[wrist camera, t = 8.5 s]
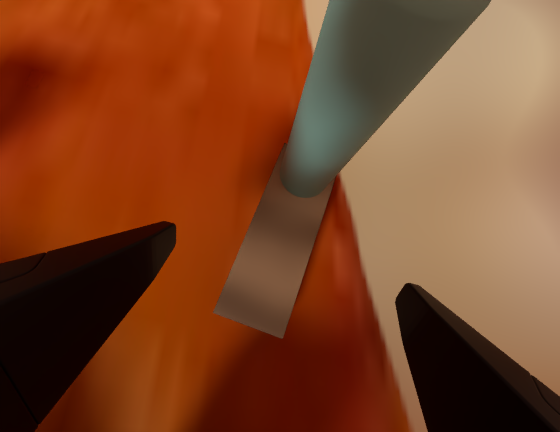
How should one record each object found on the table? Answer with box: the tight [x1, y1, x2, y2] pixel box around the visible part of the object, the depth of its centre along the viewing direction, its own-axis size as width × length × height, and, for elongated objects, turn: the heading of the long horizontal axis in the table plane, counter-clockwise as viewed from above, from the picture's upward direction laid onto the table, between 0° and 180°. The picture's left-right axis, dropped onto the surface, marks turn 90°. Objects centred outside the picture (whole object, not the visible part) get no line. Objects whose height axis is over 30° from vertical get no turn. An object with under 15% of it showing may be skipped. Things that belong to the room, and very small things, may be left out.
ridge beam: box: [213, 143, 336, 339], centre depth 18 cm, size 14×5×3 cm, turn 159°
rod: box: [280, 0, 491, 198], centre depth 12 cm, size 4×4×13 cm
